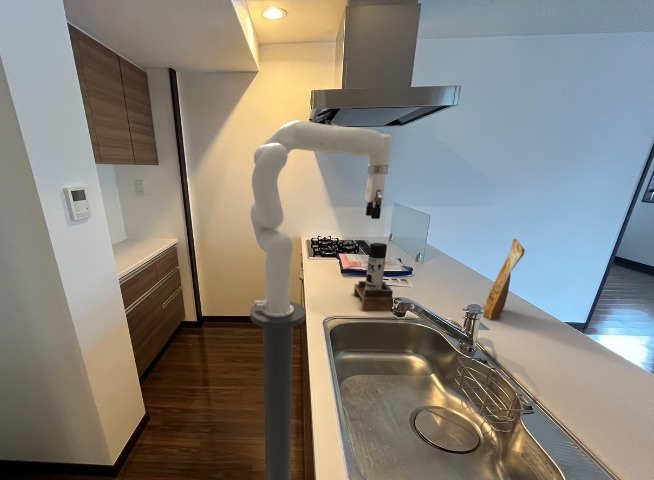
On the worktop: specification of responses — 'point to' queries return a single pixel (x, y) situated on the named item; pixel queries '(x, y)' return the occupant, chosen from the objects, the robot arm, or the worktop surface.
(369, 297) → the dark wooden tray box
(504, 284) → the pancake mix bag
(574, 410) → the worktop surface
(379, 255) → the spray can
